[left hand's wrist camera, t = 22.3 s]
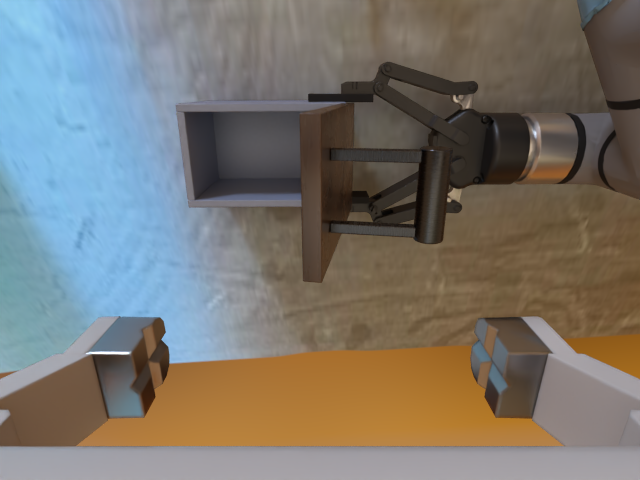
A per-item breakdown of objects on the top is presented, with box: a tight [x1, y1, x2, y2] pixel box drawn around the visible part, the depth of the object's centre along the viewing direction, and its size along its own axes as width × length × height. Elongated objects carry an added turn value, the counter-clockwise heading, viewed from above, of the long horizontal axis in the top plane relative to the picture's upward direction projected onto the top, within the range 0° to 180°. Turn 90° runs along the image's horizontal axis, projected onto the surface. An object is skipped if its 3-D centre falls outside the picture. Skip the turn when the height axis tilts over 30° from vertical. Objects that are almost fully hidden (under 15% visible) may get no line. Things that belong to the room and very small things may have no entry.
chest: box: [176, 100, 345, 207], centre depth 43 cm, size 16×10×11 cm, turn 90°
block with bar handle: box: [299, 103, 453, 283], centre depth 29 cm, size 16×10×8 cm
